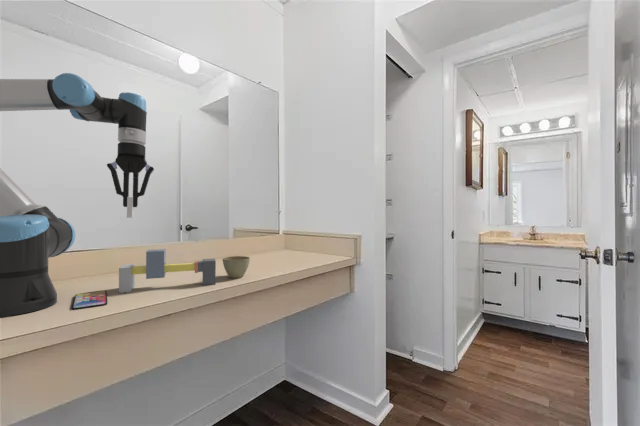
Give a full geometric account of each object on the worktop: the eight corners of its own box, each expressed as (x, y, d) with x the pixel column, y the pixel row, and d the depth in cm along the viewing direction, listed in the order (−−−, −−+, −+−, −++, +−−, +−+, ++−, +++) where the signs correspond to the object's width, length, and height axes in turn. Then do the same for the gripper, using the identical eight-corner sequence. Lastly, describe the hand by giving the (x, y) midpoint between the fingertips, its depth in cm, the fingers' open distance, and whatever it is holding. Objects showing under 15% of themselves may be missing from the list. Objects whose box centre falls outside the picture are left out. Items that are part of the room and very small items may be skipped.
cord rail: (118, 293, 90) (118, 266, 90) (124, 287, 96) (124, 262, 96) (215, 285, 100) (215, 261, 100) (214, 280, 107) (214, 258, 107)
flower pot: (242, 280, 107) (242, 260, 107) (217, 278, 109) (217, 259, 109) (254, 274, 117) (254, 256, 117) (230, 273, 119) (230, 255, 119)
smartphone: (71, 308, 74) (75, 294, 87) (71, 312, 74) (75, 297, 87) (107, 303, 79) (106, 290, 91) (107, 307, 79) (106, 293, 91)
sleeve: (146, 278, 93) (146, 251, 93) (148, 275, 98) (148, 249, 98) (164, 277, 95) (164, 251, 95) (165, 274, 100) (165, 249, 100)
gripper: (104, 138, 90) (102, 217, 90) (154, 144, 95) (152, 218, 95) (109, 143, 96) (107, 216, 96) (155, 148, 102) (153, 217, 102)
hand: (130, 217), depth 96 cm, fingers closed
